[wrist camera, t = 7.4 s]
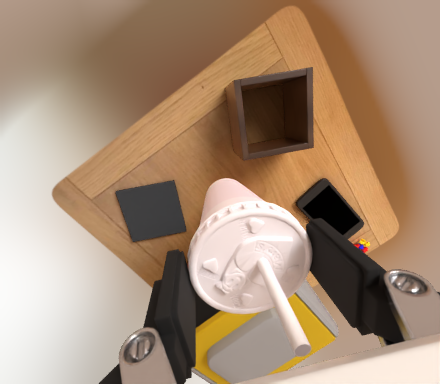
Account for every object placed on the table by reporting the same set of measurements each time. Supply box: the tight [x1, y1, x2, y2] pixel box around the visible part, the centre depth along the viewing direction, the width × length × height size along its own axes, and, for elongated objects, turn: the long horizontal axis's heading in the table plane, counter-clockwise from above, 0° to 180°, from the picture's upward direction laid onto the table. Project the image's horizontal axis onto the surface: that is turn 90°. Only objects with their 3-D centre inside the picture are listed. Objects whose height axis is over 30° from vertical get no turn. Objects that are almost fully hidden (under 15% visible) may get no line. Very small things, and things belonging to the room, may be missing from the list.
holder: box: [225, 67, 314, 161], centre depth 32 cm, size 10×10×8 cm
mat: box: [116, 180, 186, 242], centre depth 39 cm, size 10×10×1 cm
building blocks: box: [354, 239, 370, 253], centre depth 46 cm, size 6×8×2 cm
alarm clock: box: [187, 265, 338, 384], centre depth 36 cm, size 20×16×18 cm
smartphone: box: [296, 178, 364, 239], centre depth 43 cm, size 7×15×1 cm, turn 46°
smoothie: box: [188, 178, 312, 357], centre depth 13 cm, size 6×6×14 cm
